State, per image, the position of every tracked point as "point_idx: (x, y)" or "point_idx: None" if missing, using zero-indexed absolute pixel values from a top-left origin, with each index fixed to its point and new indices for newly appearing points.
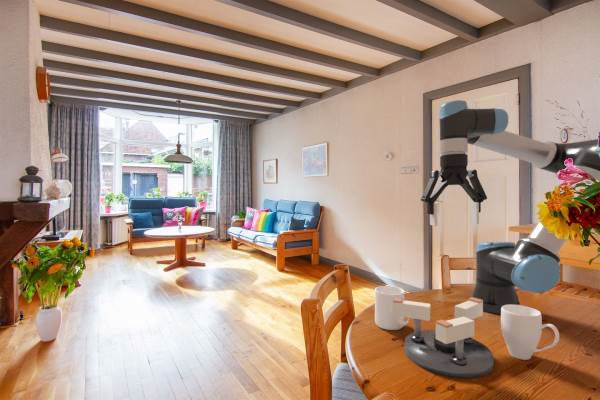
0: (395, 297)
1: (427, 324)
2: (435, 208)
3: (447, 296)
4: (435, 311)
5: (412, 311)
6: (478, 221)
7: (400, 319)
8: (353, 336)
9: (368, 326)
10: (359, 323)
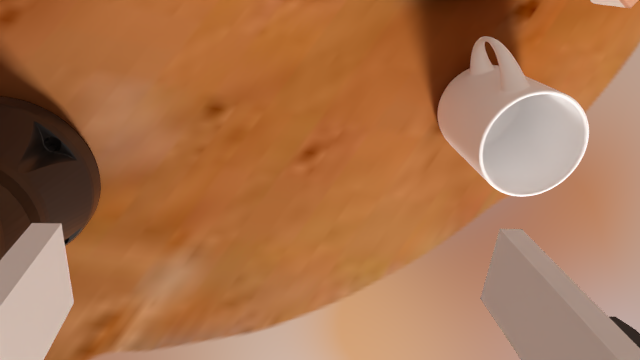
0: (630, 3)
1: (360, 85)
2: (628, 350)
3: (133, 289)
4: (264, 176)
5: None
6: (26, 235)
7: (487, 68)
8: (625, 53)
9: None
10: None
